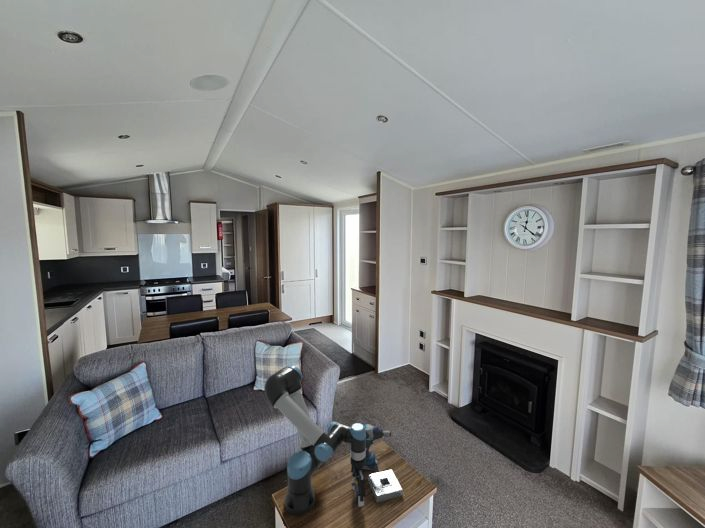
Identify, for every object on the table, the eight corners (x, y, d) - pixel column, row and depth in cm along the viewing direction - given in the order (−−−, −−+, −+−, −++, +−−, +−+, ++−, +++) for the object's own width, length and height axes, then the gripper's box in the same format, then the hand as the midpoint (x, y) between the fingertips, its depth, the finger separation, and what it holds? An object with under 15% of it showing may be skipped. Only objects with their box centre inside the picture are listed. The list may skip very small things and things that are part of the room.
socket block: (376, 502, 157) (376, 495, 157) (367, 480, 170) (367, 474, 170) (402, 495, 161) (402, 489, 161) (391, 475, 174) (391, 469, 174)
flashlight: (352, 506, 155) (352, 484, 154) (350, 500, 158) (350, 478, 157) (365, 503, 157) (365, 481, 155) (362, 497, 160) (363, 475, 159)
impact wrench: (390, 475, 174) (390, 433, 171) (350, 468, 179) (350, 428, 176) (391, 464, 182) (391, 424, 179) (353, 458, 187) (353, 419, 184)
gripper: (372, 471, 145) (372, 514, 148) (358, 439, 166) (358, 478, 169) (357, 474, 143) (357, 518, 145) (344, 442, 164) (345, 481, 167)
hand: (357, 496), depth 157 cm, fingers open, 10 cm apart
